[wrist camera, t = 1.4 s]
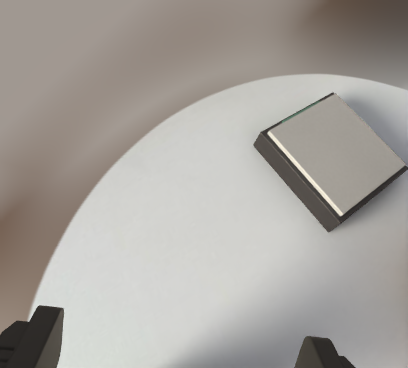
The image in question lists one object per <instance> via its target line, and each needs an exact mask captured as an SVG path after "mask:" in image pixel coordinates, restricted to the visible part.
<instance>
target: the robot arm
mask: <svg viewBox="0 0 408 368" xmlns="http://www.w3.org/2000/svg"><path fill="white" fill-rule="evenodd" d="M63 318H64V309H63V308H59V307H50V306H41V305H39V306H38V307H37V309H36V311H35V312H34V314H33V316H32V318H31V320H30V322H25V321H16V322H14V323H13V324H12V325H11V326H9V327H8V328H7V329H5V330H4V331H3V332H2V333H1V335H0V368H56V367H57V364H58V361H59V357H60V352H61V345H62V331H63ZM294 368H355V367H354V366H353V365H352V364H351V363H350V362H349V361H348V360H347V359H346V357H345V356H339V355H338V353H337V351H336V349H335V347H334V345H333V343H332V341H331V340H330V339H328V338H320V337H311V336H307V337H305V339H304V341H303V344H302V347H301V349H300V352H299V355H298V358H297V361H296V364H295V367H294Z"/></svg>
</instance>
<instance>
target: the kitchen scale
mask: <svg viewBox="0 0 408 368" xmlns="http://www.w3.org/2000/svg"><path fill="white" fill-rule="evenodd" d="M254 147H255V148H256V149H257V150H258V151H259V152H260V154H261V155H262V156H263V157H264V158H265V159H266V161H267V162H268V163H269V164H270V165H271V166H272V167H273V169H274V170H275V171H276V172H277V173H278V174H279V176H280V177H281V178H282V179H283V180H284V181H285V183H286V184H287V185H288V186H289V187H290V188H291V190H292V191H293V192H294V193H295V194H296V195H297V197H298V198H299V199H300V200H301V201H302V202H303V203H304V205H305V206H306V207H307V208H308V209H309V210H310V212H311V213H312V214H313V215H314V216H315V217H316V219H317V220H318V221H319V222H320V223H321V224H322V226H323V227H324V228H325V229H326V230H327V231H328V232H330V231H331V230H333V229H334V228H335V227H337V226H338V225H339V224H341V223H342V222H343V221H345V220H346V219H347V218H348V217H349V216H351V215H352V214H353V213H354V212H356V211H357V210H358V209H359V208H361V207H362V206H363V205H364V204H366V203H367V202H368V201H369V200H370V199H372V198H373V197H374V196H375V195H377V194H378V193H379V192H380V191H382V190H383V189H384V188H385V187H387V186H388V185H389V184H390V183H392V182H393V181H394V180H395V179H396V178H398V177H399V176H400V175H401V174H403V173H404V172H405V171H406V170H408V168H407V167H406V166H405V165H406V163H405V162H404V161H403V160H402V159H401V158H400V157H399V156H398V155H397V154H396V153H395V152H394V151H393V150H392V149H391V148H390V147H389V146H388V145H387V144H386V143H385V142H384V141H383V140H382V139H381V138H380V137H379V136H378V135H377V134H376V133H375V132H374V131H373V130H372V129H371V128H370V127H369V126H368V125H367V124H366V123H365V122H364V121H363V120H362V119H361V118H360V117H359V116H358V115H357V114H356V113H355V112H354V111H353V110H352V109H351V108H350V107H349V106H348V105H347V104H346V103H345V102H344V101H343V100H342V99H341V98H340V97H339V96H338V95H337V94H336V93H335V94H334V93H331V94H329V95H327V96H325V97H324V98H322V99H320V100H318V101H316V102H315V103H313V104H311V105H309V106H307V107H305V108H304V109H302V110H300V111H298V112H296V113H295V114H293V115H291V116H289V117H287V118H286V119H284V120H282V121H280V122H278V123H277V124H275V125H273V126H271V127H269V128H268V129H266V130H264V131H262V132H261V133H260V134H259V136H258V138H257V139H256V141H255V143H254Z"/></svg>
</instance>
